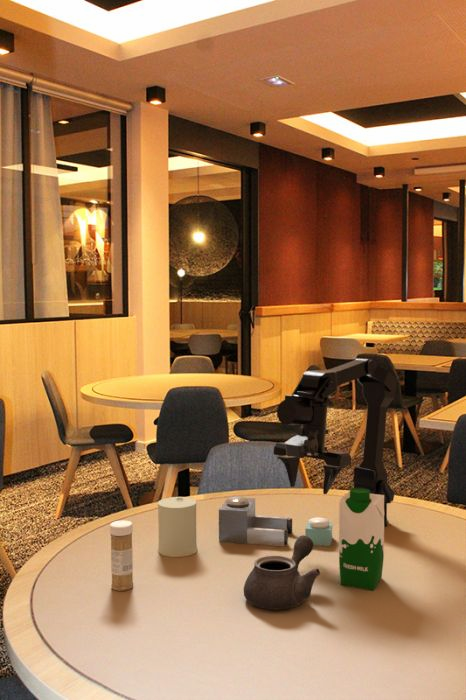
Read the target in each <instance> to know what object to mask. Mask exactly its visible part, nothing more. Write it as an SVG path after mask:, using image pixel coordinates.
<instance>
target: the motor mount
mask: <svg viewBox="0 0 466 700" xmlns="http://www.w3.org/2000/svg"><path fill="white" fill-rule="evenodd" d="M291 534H293V518H291V517H290V516H289V517H286V516H285V517H284V516H274V515H273V516H271V515H256V498H253V497H244V496H228V497H227V498H226V499H225V501H224V502H223V503H222V504H221V506H220V507H219V509H218V542H220V543H231V544H233V543H234V544H247V545H248V544H249V545H264V546H274V547H275V546H276V547H277V546H278V547H279V546H280V547H285V546H288V545H289V536H288V535H291Z"/></svg>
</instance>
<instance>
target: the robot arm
mask: <svg viewBox="0 0 466 700" xmlns="http://www.w3.org/2000/svg"><path fill="white" fill-rule="evenodd" d="M354 380H355V381H356V380H357V382H358V383H359V384H360V385H361V386H362V396H363V398H364V401H365V403H366V405H367V412H366V421H365V423H366V424H365V435H364V444H363V457H362V461H361V462H360V463H359V465H358V466H354V468H353V478H352V483H353V488H366V489H369V490H370V494H379V495H384V514H385V515H384V527H388V514H387V512H388V504H392V502H393V501H394V498H395V492H394V490H393V489H392V487H391V486H390V485H389V483H388V472H387V470H386V468H385V465H384V464H383V457H384V456H383V455H384V446H385V437H386V436H385V435H386V423H387V412H388V407H389V406H390V404H391V403H392V401H394V399H395V395H396V390H397V386H398V385H397V384H398V383H397V380H396V378H395V376H394V375H393V374H392V373H391V372H390V371H389V370H387V369H386V368H383V367H382V366H380V365H378V363H377V362H376V361H375V360H373V359H372V358H362V357H361V358H360V357H359V358H358V357H357V358H356V359H354V360H352V361H349V362H346V363H343V364H340V365H338V366H335V367H332V368H328V369H325V370H324V369H321V370H320V369H319V370H318V369H316V370H315V369H314V370H306V371H305V372H303V374H302V377H301V378H300V380H299V382H298V383H297V385H296V387H295V389H294V390H293V392H292V394H285V395H284V399H283V400H282V401H281V402H280V403H279V404H278V407H277V408H276V415H277V419H278V421H279V422H280V423H281V424H282V425H284V426H290V425H291V426H297V425H299V426H301V427H298V429H297V433H296V435H294V436H292V437H291V438H289V439H287V441H285V442H284V441H283V442H276V443H275V445H273V451H272V455H274V456H275V455H276V456H277V460H280V461H281V462H282V463H283V464H284V467H285V469H286V474H287V477H288V480H289V481H288V482H289V484H290V487H291V488H294V487H295V486H296V482H297V478H298V471H299V465H300V459H304V458H311V459H317V460H322V461H324V463H325V465H322V468H323V471H324V478H323V486H322V488H323V489H322V490H323V491H322V492H323V495H327V494H328V493H329V491H330V489H331V487H332V486H333V483H334V482H335V480H336V479H337V477H338V475H339V474H340V472H341V471H342V469H345V468H347V466H351V465H352V456H351V453H349V452H345V451H340V450H332V451H331V450H330V451H328V446H325V444H326V443H325V442H326V435H329V429H327V417H328V408H329V407H333V406H334V403H333V401H332V400H331V399H330V398H329V397H330V396H331V395H333V394H334V393H336V392H337V391H338V388H339V387H340V386H342V385H344V384H347V383H350V382H352V381H354Z"/></svg>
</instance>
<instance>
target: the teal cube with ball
mask: <svg viewBox="0 0 466 700" xmlns="http://www.w3.org/2000/svg"><path fill="white" fill-rule="evenodd" d="M304 531H305V533H304V534H305V536H307V537H309V538H310V539H311V540H312V541H313V546H322V545H324V546H326V547H330V546H331V545H332V540H333V521H332V522H330V520H329V519H328V518H324V517H313V518H310V519H309V520H308V521H307V523H306V526H305V530H304ZM324 546H323V547H324Z"/></svg>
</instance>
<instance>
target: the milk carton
mask: <svg viewBox="0 0 466 700" xmlns="http://www.w3.org/2000/svg"><path fill="white" fill-rule="evenodd" d="M338 507H339V518H338V519H339V521H338V522H339V523H338V524H339V526H338V528H339V531H338V534H339V537H338V539H339V540H338V544H339V545H338V546H339V549H338V550H339V551H338V560H339V561H338V564H339V578H340V579H339V581H340V586H341V585H342V586H345V587H351V588H358V589H363V590H369V591H374V590H375V589H376V587H378V586H377V585H378V584H379V583H380V581H381V579H382V578H383V577H382V576H383V570H384V569H383V567H384V559H385V558H384V557H385V555H384V554H385V526H384V515H385V514H384V495H379V494H370V490H369V489H366V488H354V487H351V488H350V489H349V491H348V492H347V493H345V494H344V496H342V497H341V498H340V499H339V506H338Z"/></svg>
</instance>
